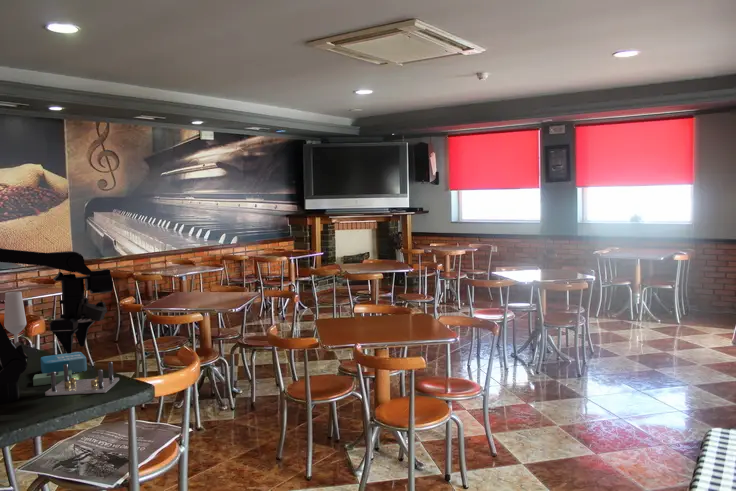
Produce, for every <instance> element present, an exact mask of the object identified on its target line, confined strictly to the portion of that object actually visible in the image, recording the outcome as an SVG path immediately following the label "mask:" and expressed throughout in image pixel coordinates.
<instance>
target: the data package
mask: <svg viewBox="0 0 736 491" xmlns="http://www.w3.org/2000/svg"><path fill="white" fill-rule="evenodd" d="M39 361H40V372H41V374H44V373H51V372H61V371H64V367H63V365H64V364H68V371H69V370H72V373H74V372H79V373H83V372H82V371H84V372H86V371H87V370H88V366H87V365H88V364H87V357H86V355H85V354H83V352H81V351H74V352H73V351H72V353H70V354H67V352H66V353H61V354H60V353H59V354H52V355H45V356H41V357H40V360H39ZM74 374H75V373H74Z"/></svg>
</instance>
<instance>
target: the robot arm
mask: <svg viewBox="0 0 736 491" xmlns="http://www.w3.org/2000/svg"><path fill="white" fill-rule="evenodd" d="M0 263H5V264H20V265H32V266H44V267H50V268H53V269H57V270H62V271H64V272H68V273H67V274H65V273H63V272H62V271H59V272H58V273H57V274H56V275H55V276H54V277H53V280H54V281H55V282H60V283H61V299H60V300H59V305H62V314H60V317H58V318H55V319H52V320H51V322H50V323H49V331H50V332H52V334H54V335H55V337H56V338H57V339H58V341H59V342H60V345H61V346H62V348H63V349H64V351H65V352H66V353H67V354H70V353H73V343H74V342H73V341H74V335H75V337H76V340H77V342H78V345H79V347H85V345H86V342H87V336H88V332H89V329H90V327H91V326H92V325H93V324H94V323H95V322H100V321H102V320H104V318H105V316H106V313H108V307H107V306H106V302H103V301H98V302H97V303H96V304H95V303H90V302H89V298H88V297H85V291H87V292H88V291H89V294H90V295H91V294H92V295H93V294H103V293H113V290H114V281H113V278H112V274H111V269H109V268H105V269H98V270H91V268H90V267H89V266H87V265H86V263H85V258H84V256H83V255H82V254H81V253H80V252H77V251H73V250H70V251H53V252H41V251H40V252H39V251H31V250H30V251H29V250H21V249H19V250H18V249H17V250H16V249H8V248H1V247H0ZM69 272H70V273H69ZM75 273H78V274H80V275H83V276H77V275H76V274H75ZM3 326H4V325H3V324H2V323H1V321H0V405H3V404H10V403H13V402H16V401H18V400H20V386H19V384H20V383H19V379H20V377H21V374H23V373H24V372H25V370H26V369H27V366H28V361H26V360H27V359H29V357H28V355H27V354H26V353H25V352H24V349H23V346H22V344H21V343H20V341H18V342H17V343H15V342H14V343H13V342H12V340H11V339H10V338H9V335H8V334H7V332H6V330H5V327H3Z"/></svg>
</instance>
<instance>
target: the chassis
mask: <svg viewBox="0 0 736 491" xmlns="http://www.w3.org/2000/svg"><path fill="white" fill-rule="evenodd" d="M113 364H114V362H113V361H109V362H107V366H108V368H107V369H108V377H106V378H105V377H104V370H103V369H97V375H98V376H95V378H87V379H85V378H83V379H77V378H76V377H72V378H70V380H69V374H68V364H64V365H63V367H64V380H63V381H61V382H60V383H56V372H51V384H50V385H51V388H49V389H48V390H46V391H44V394H45V395H44V396H45V397H47V396H48V397H50V396H66V395H67V396H68V395H84V394H85V395H86V394H102V393H104V394H105V393H107V392H108V391H110V389H112V388H113V387H114V386H115V385H116V384H117V383H118V382H119V381H120V377H114V365H113Z"/></svg>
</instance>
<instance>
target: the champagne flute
mask: <svg viewBox="0 0 736 491" xmlns="http://www.w3.org/2000/svg"><path fill="white" fill-rule="evenodd" d="M22 294H23V293H22V291H9V292H5V295H4V317H3V318H4V319H3V320H4V321H3V326H4V327H3V328H4V329H6V331H7V332H9V333H10V334H13V338H14V340H13V341H14V344H15V343H17V342H19V334H21V333H22V331H23V330H24V329H25V327H26V326H27V324H28V323H27V318H26V312H25V311H26V310H25V306H24V300H23V299H24V298H23V295H22ZM26 361H27V359H26ZM27 362H28V361H27Z"/></svg>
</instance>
